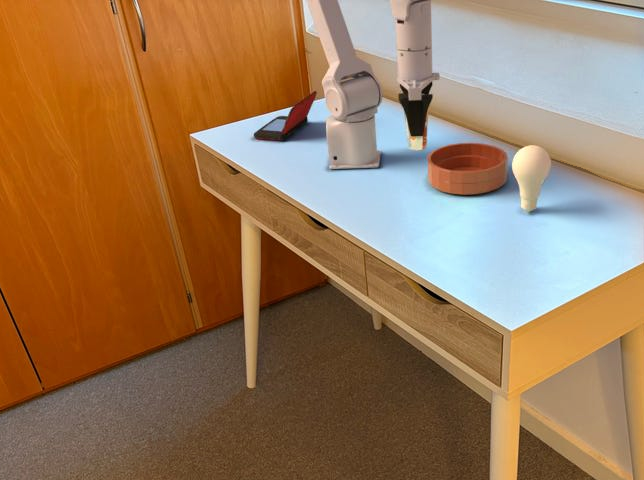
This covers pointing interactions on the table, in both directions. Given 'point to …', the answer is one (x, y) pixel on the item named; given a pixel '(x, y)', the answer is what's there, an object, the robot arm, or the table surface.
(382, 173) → the table surface
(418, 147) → the milkshake
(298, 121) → the handheld game console
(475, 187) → the bowl
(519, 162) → the lightbulb
